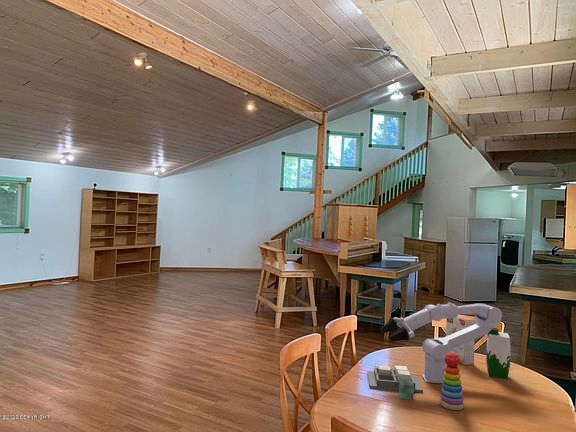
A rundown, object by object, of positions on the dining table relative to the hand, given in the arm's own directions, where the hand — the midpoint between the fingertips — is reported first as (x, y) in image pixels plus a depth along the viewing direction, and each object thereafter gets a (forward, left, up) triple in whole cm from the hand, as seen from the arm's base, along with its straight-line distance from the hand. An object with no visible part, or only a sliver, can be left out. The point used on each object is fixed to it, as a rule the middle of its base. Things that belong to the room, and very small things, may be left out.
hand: (385, 335), depth 169 cm
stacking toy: (-22, +19, -19) cm, 34 cm away
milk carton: (-50, -17, -19) cm, 56 cm away
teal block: (-7, +13, -19) cm, 24 cm away
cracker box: (-39, -35, -19) cm, 56 cm away
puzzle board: (-4, +1, -18) cm, 19 cm away
